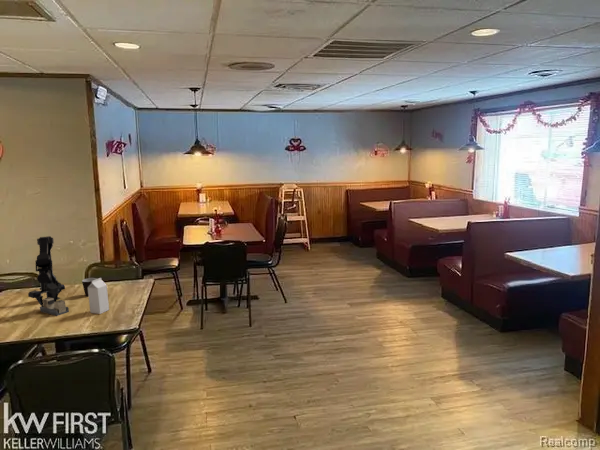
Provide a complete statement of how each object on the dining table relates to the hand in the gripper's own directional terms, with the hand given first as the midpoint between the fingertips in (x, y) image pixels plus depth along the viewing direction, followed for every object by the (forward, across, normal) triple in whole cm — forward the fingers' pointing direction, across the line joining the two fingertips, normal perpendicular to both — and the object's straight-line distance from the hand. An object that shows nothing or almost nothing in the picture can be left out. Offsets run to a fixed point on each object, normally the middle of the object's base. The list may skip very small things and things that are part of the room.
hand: (48, 304), depth 266 cm
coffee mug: (+4, +31, +4) cm, 31 cm away
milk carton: (+4, +12, -29) cm, 32 cm away
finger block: (+2, 0, 0) cm, 2 cm away
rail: (+3, 0, -5) cm, 6 cm away
